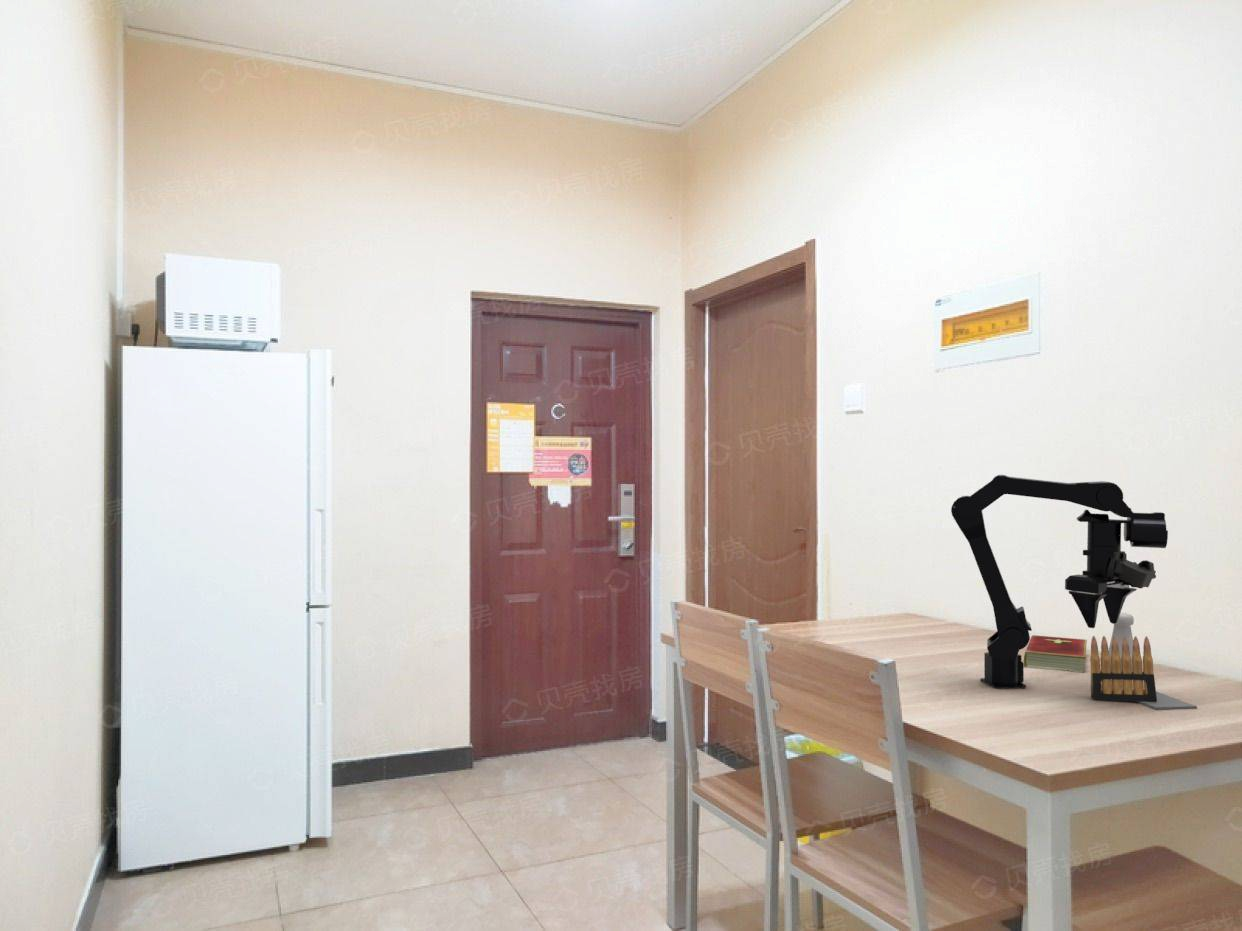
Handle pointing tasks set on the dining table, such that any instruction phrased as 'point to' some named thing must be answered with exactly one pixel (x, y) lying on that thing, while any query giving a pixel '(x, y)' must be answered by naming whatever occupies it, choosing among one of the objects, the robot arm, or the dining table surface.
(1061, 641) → the hardcover book
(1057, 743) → the dining table surface
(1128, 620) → the salt shaker
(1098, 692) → the ammunition clip
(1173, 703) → the mat
